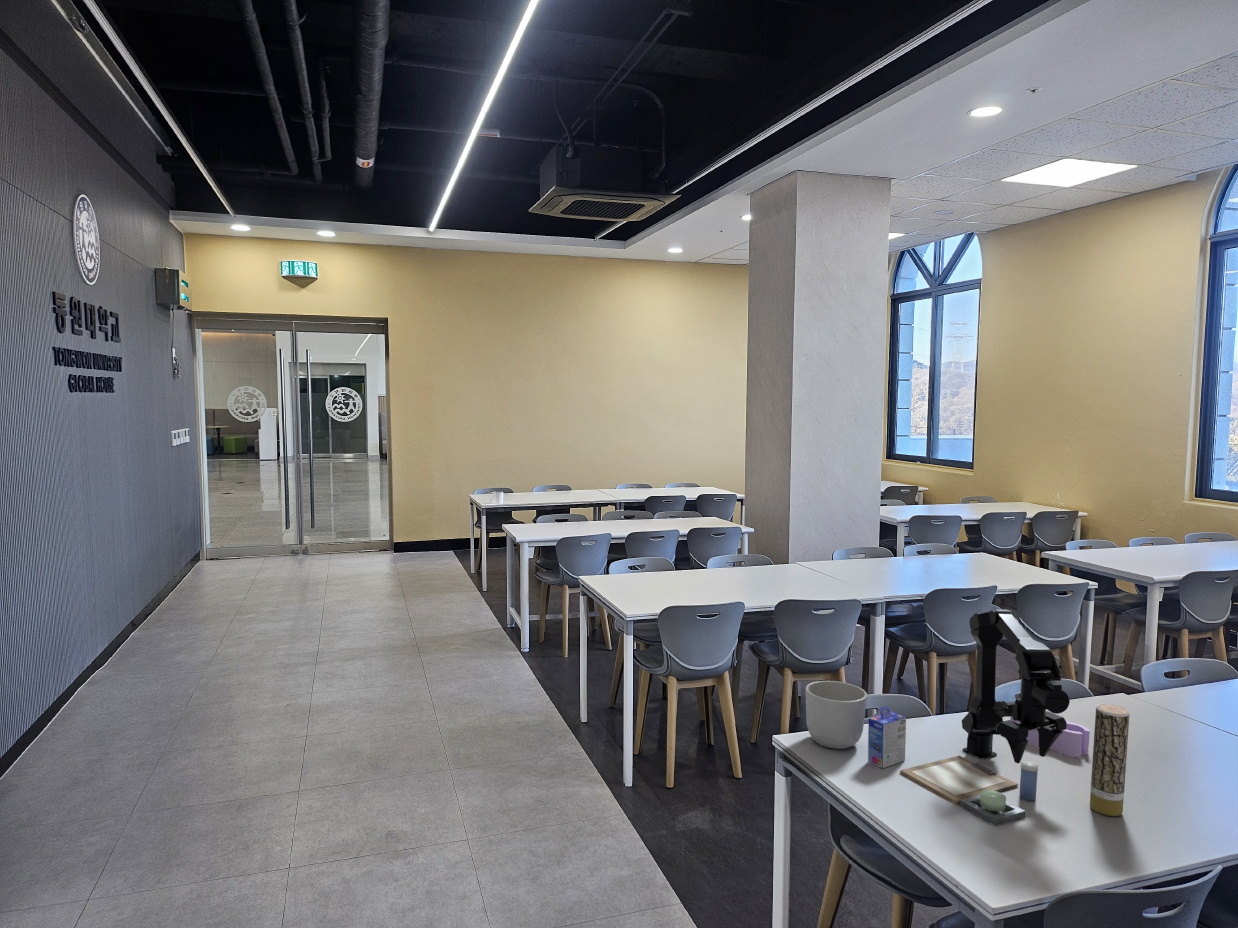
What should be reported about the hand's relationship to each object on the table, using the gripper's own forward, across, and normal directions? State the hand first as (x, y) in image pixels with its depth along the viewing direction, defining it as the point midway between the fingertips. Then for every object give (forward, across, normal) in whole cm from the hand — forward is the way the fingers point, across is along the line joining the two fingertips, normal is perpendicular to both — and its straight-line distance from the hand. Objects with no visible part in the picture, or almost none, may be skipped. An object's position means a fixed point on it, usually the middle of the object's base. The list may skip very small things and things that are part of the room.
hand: (1029, 759), depth 196 cm
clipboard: (+10, +8, -14) cm, 19 cm away
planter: (+10, +22, -45) cm, 51 cm away
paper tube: (+10, -12, +12) cm, 20 cm away
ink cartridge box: (+10, +17, -30) cm, 36 cm away
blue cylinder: (+10, 0, 0) cm, 10 cm away
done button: (+8, +14, +1) cm, 16 cm away
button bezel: (+10, +14, +1) cm, 17 cm away
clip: (+10, -36, -20) cm, 42 cm away
